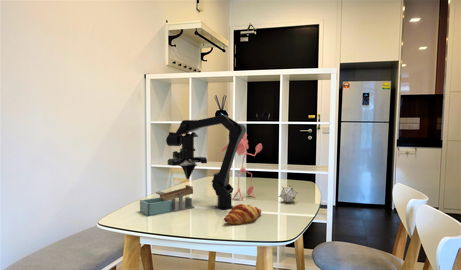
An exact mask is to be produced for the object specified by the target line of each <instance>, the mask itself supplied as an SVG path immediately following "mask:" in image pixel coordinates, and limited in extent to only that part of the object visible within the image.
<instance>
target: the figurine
mask: <svg viewBox="0 0 461 270" xmlns="http://www.w3.org/2000/svg"><path fill="white" fill-rule="evenodd" d="M247 136H248V134H247V133H245V135H244V137H243V138H242V140H241V141H240V143H239V144H238V147H237V150H236V154H237V155H238V156H239V157H240V156H243V158H242V164H241V168H240V173H239V175H238V177H240V176H241V173H243V174H244V173H248V174H250V175H251V176H250V184H252V180H253V173H251V172H249V171H246V168H245V167H244V161H245V157H246V156H247V155H250V156H253V157H255V156H256V155H257V154H258V153H260V152H262V150H263V145H262V143H258V144H257V145H256V146H255V153H254V154H252V153H248V151H247V150H248V149H249V144H248V143H249V140H248V139H247V138H248V137H247ZM228 144H229V142H228V143H227V144H226V145H225V146H224V148H222V150H221V152H222V153H223V152H224V151H226V150H227V147H228ZM237 183H238V184H237V191H236V193H233V194H232V193H231V196H232V195H234V196H233V197H232V200H234V199H235V198H236V197H237V195H239V196H240V199H241V201H242V202H243V201H244V199H243V197H242V193H241V188H240V178H238V182H237ZM246 194H247V195H248V196H250V195H251V194H252V196H253V198H254V199H255V198H256V196H255V194H254V186H253V185H250V186H249V187H248V189H247V191H246Z"/></svg>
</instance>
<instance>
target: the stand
mask: <svg viewBox="0 0 461 270" xmlns="http://www.w3.org/2000/svg"><path fill="white" fill-rule="evenodd" d="M183 199H185V201H184V200H183ZM171 201H172V212H173V213H174V212H180V211H185V210H192V209H195V208H196V207H195V206H194V205H193V204H192V203H193V199H192V198H191V197H189V196H183V194H179V198H178V203H176V198H175V199H172V200H171ZM183 201H184V202H183ZM172 212H171V213H172Z"/></svg>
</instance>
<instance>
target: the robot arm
mask: <svg viewBox="0 0 461 270" xmlns="http://www.w3.org/2000/svg"><path fill="white" fill-rule="evenodd" d="M218 125H222V126H223V127H224V128H225V129H227V130H228V143H229V144H228V143H227V144H228V147H227V149H226V150H225V153H224V156H223V159H222V163H221V166H220V169H219V172H216V173H213V178H212V180H211V183H212V184H211V187H212V189H213V190H214V192H215V195H216V196H217V204H216V205H214V207H215V208H216V209H220V210H222V211H223V210H229V209H230V210H231V209H232V208H233V207H234V206H235V205H232V193H233V192H234V187H233V186H232V185H231V184H230V179H231V178H230V171H231V168H232V165H233V162H234V159H235V157H236V154H237V152H236V150H237V147H238V144H239V143H240V141H241V140H242V138H243V137H244V135H245V134H247V133H246V132H247V128H246V126H245V125H244V124H243V123H238V122H237V121H235V120H233V119H232V118H231V117H229V115H227V114H226V115H225V114H219V115H217V116H212V117H211V116H210V117H208V118H207V117H206V118H200V119H184V120H182V121H181V122H180V124H179V127H178V128H177V130H176V131H175V132H174V131H173V132H172V131H169V132H168V135H167V136H166V139H165V142H166V145H167V146H168V147H180V146H181V148H180V149H179V151H175V150H174V151H172V158H168V160H167V165H168V166H171V167H172V166H175V167H176V166H179V167H181V168H182V171H183V172H184V173H183V174H184V175H185V179H186V180H189V179H190V178H191V177H192V173H193V171H194V170H195V168H196V167H197V166H198V164H196V163H201V164H208V159H207V157H205V156H195V154H194V153H195V151H196V148H195V138H198V137H199V135H198V134H197V133H196V132H195V131H198V130H200V129H201V128H207V127H213V126H218Z"/></svg>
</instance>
